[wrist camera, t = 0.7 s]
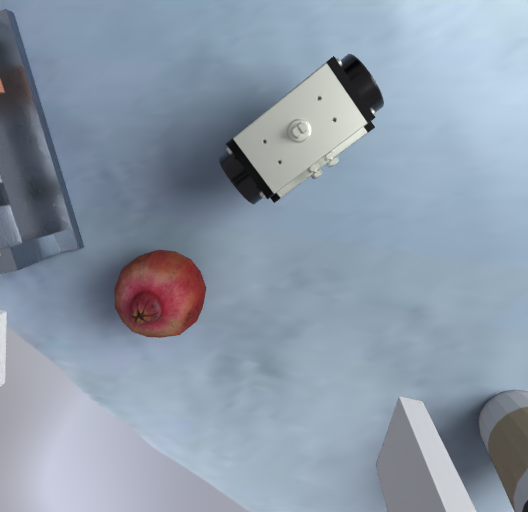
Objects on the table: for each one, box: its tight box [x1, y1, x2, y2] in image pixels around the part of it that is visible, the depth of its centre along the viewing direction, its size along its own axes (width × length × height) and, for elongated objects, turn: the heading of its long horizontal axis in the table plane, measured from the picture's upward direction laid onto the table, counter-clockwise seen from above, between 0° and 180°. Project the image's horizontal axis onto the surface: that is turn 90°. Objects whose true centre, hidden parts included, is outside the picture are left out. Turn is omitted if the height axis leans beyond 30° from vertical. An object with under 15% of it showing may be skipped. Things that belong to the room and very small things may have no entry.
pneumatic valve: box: [219, 54, 384, 204], centre depth 32 cm, size 6×12×12 cm, turn 127°
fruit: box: [115, 250, 206, 337], centre depth 37 cm, size 8×8×10 cm
